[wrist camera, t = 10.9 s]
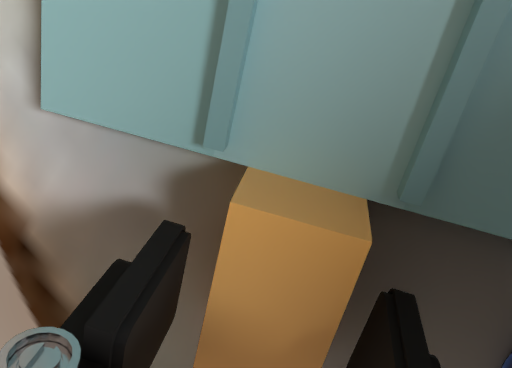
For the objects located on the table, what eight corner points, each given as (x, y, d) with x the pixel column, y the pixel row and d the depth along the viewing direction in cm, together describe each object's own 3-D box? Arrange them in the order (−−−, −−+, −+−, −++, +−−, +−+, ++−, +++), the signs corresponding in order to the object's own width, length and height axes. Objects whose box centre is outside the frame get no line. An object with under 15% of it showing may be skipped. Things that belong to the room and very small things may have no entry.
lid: (911, -280, 7) (1278, -452, 4) (473, 397, 14) (506, 496, 11) (78, -442, 8) (-60, -671, 5) (57, 271, 15) (-6, 335, 12)
